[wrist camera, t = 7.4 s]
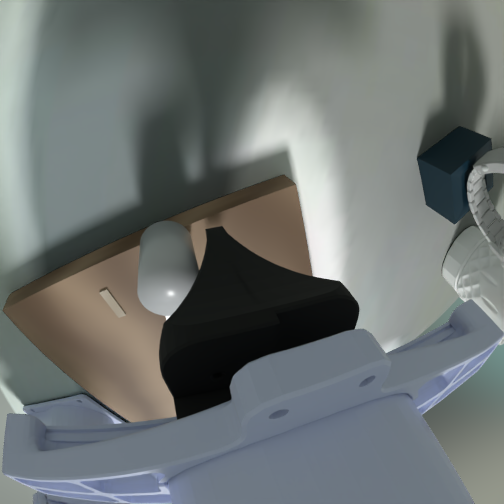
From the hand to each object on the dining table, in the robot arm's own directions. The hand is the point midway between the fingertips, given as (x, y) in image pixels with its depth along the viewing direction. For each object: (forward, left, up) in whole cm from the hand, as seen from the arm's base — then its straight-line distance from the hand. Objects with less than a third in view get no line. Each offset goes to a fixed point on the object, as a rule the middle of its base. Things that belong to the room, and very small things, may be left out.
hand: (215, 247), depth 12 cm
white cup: (+23, -13, -3) cm, 26 cm away
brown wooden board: (-4, -9, -3) cm, 11 cm away
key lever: (-3, -5, -1) cm, 6 cm away
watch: (+18, -2, -3) cm, 18 cm away
